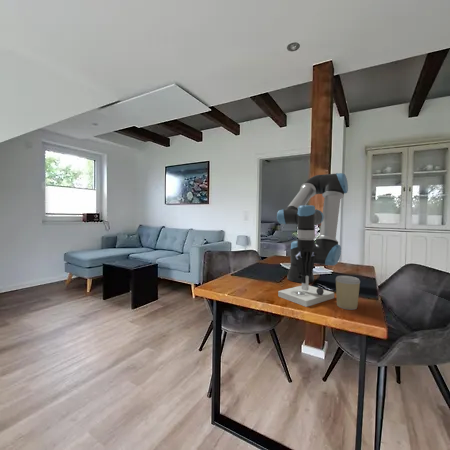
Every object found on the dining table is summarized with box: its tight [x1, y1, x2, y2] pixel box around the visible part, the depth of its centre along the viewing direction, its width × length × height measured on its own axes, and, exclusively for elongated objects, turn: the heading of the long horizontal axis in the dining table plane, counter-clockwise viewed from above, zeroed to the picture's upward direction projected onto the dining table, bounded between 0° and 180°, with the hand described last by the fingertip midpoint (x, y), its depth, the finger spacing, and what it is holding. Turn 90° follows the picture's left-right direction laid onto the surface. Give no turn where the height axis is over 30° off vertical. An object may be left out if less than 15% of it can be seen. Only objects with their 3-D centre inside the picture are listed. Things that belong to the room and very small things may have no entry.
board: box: [277, 285, 335, 308], centre depth 119 cm, size 20×16×2 cm
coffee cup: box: [335, 275, 361, 311], centre depth 107 cm, size 9×9×12 cm
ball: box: [317, 287, 324, 295], centre depth 115 cm, size 3×3×3 cm
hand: (305, 289), depth 118 cm, fingers closed
